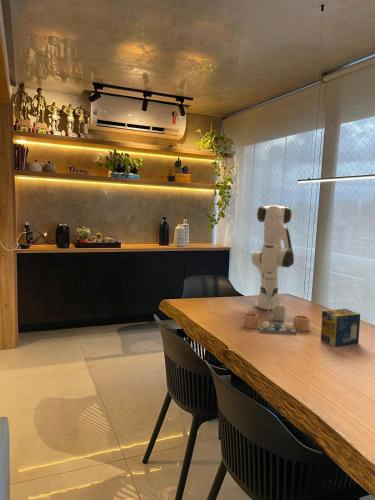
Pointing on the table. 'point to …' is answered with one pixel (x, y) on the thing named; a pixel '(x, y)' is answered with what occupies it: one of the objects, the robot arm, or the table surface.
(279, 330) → the tray
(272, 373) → the table surface
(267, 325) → the ball
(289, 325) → the ball
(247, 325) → the tube
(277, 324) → the ball
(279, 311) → the cup
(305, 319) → the tube
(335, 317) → the protein box
